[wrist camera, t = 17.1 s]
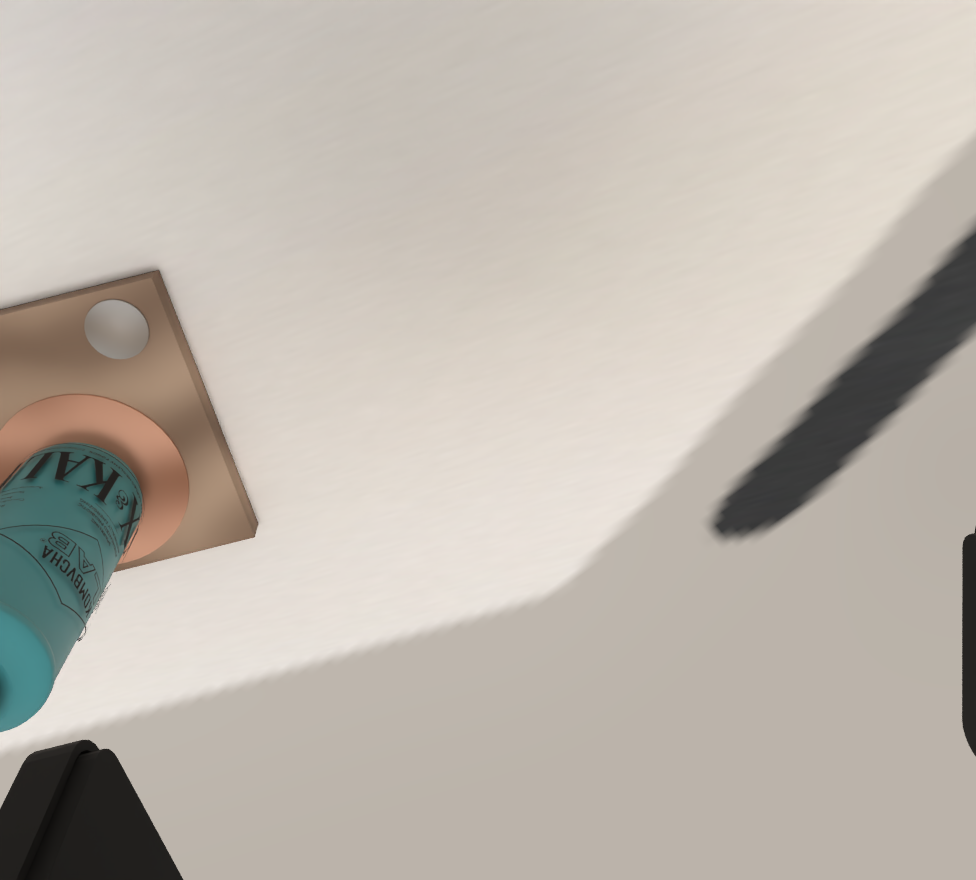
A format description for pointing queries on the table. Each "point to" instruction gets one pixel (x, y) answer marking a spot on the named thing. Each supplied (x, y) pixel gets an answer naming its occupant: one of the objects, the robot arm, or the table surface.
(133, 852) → the robot arm
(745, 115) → the table surface
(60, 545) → the beverage bottle
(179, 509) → the board
